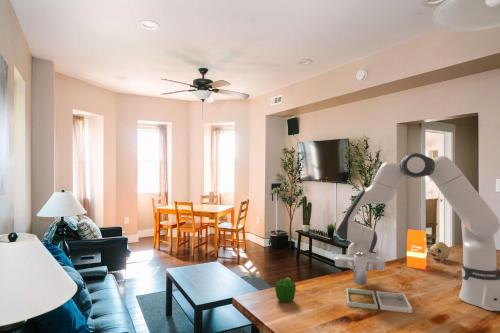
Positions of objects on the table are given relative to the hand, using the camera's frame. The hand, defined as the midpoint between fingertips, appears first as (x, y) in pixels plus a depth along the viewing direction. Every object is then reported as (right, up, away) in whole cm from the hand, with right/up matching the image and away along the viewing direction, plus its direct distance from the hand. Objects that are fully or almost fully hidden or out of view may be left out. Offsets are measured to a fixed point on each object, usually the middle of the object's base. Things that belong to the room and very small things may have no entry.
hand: (360, 268), depth 126 cm
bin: (+1, -15, +1) cm, 15 cm away
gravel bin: (+12, -15, -2) cm, 19 cm away
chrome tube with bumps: (0, -6, +1) cm, 6 cm away
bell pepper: (-30, -15, +4) cm, 34 cm away
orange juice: (+48, -14, +47) cm, 69 cm away
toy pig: (+67, -14, +57) cm, 89 cm away
